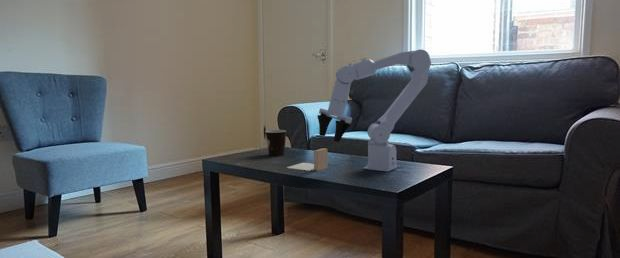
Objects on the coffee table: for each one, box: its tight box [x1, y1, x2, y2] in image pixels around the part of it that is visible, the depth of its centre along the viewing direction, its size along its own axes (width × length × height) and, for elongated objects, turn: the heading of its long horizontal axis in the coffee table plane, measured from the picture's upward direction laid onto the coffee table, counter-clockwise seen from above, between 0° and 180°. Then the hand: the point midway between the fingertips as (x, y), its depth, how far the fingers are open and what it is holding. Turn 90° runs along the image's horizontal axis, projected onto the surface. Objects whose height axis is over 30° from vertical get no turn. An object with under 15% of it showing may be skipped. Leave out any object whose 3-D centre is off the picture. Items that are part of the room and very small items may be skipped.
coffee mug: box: [265, 129, 287, 157], centre depth 188 cm, size 12×9×10 cm
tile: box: [313, 148, 329, 172], centre depth 160 cm, size 2×6×7 cm, turn 145°
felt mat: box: [286, 162, 314, 172], centre depth 164 cm, size 10×10×1 cm
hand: (329, 138), depth 158 cm, fingers open, 7 cm apart
